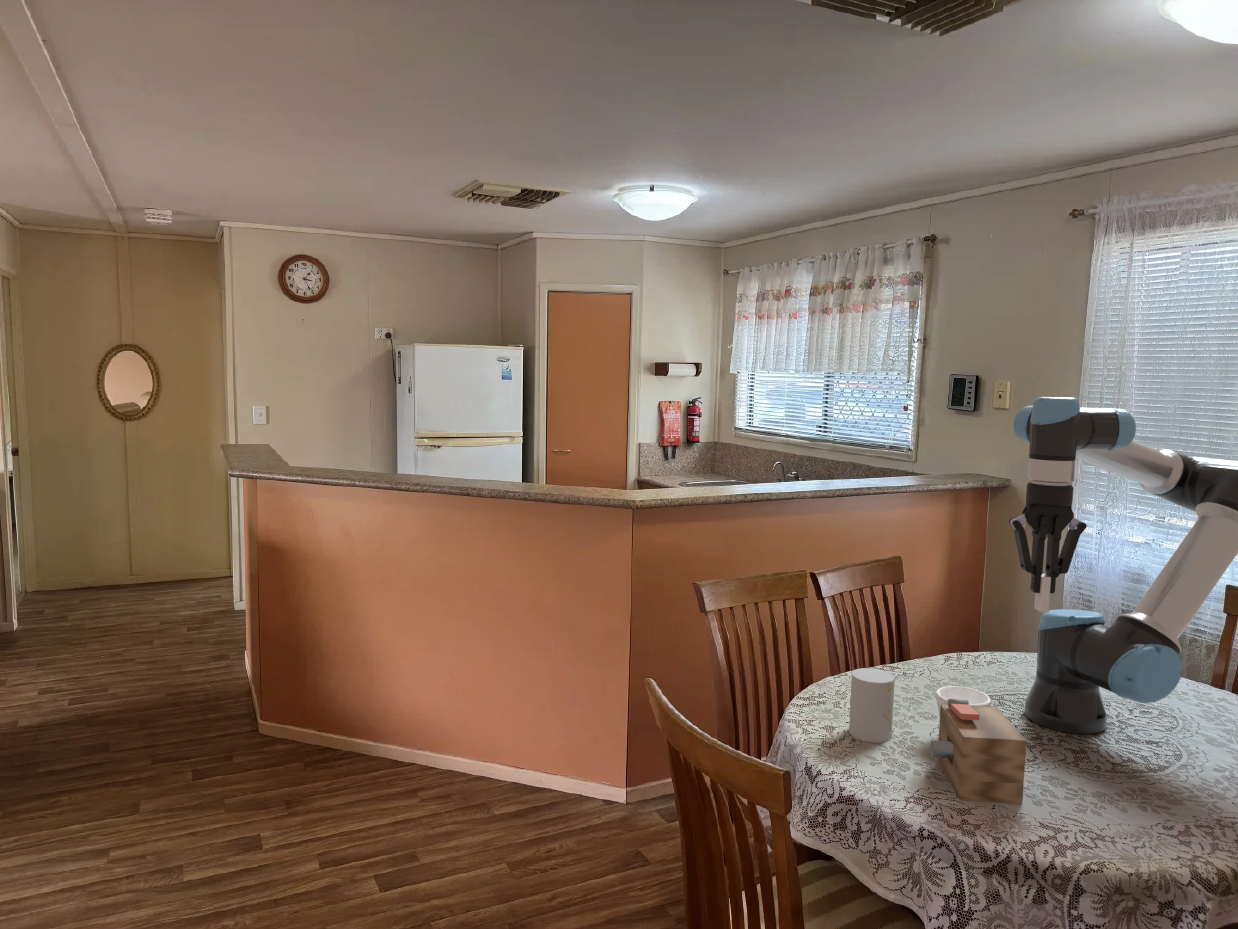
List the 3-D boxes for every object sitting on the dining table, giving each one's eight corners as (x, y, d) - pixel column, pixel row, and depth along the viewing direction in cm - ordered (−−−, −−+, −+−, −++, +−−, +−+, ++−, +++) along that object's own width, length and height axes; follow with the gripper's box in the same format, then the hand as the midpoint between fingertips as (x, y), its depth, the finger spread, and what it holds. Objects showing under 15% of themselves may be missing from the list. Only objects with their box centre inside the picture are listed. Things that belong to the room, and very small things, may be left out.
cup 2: (963, 756, 156) (966, 708, 155) (922, 736, 165) (924, 690, 164) (999, 746, 161) (1002, 700, 160) (957, 726, 169) (959, 682, 168)
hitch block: (993, 765, 153) (997, 707, 151) (1022, 804, 139) (1026, 740, 138) (937, 762, 154) (940, 704, 152) (959, 799, 140) (963, 737, 139)
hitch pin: (1012, 761, 148) (1014, 733, 147) (1023, 775, 143) (1025, 746, 142) (928, 756, 149) (929, 728, 149) (935, 770, 144) (937, 741, 144)
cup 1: (894, 744, 161) (897, 684, 160) (850, 740, 162) (853, 680, 161) (889, 727, 169) (892, 670, 167) (847, 723, 170) (850, 666, 169)
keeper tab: (965, 707, 151) (966, 698, 151) (979, 720, 143) (980, 711, 143) (947, 706, 151) (947, 697, 151) (960, 719, 143) (960, 710, 143)
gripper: (1078, 481, 153) (1069, 606, 156) (1005, 479, 155) (997, 603, 157) (1097, 486, 146) (1087, 617, 148) (1020, 484, 147) (1011, 614, 150)
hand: (1041, 610), depth 153 cm, fingers closed
